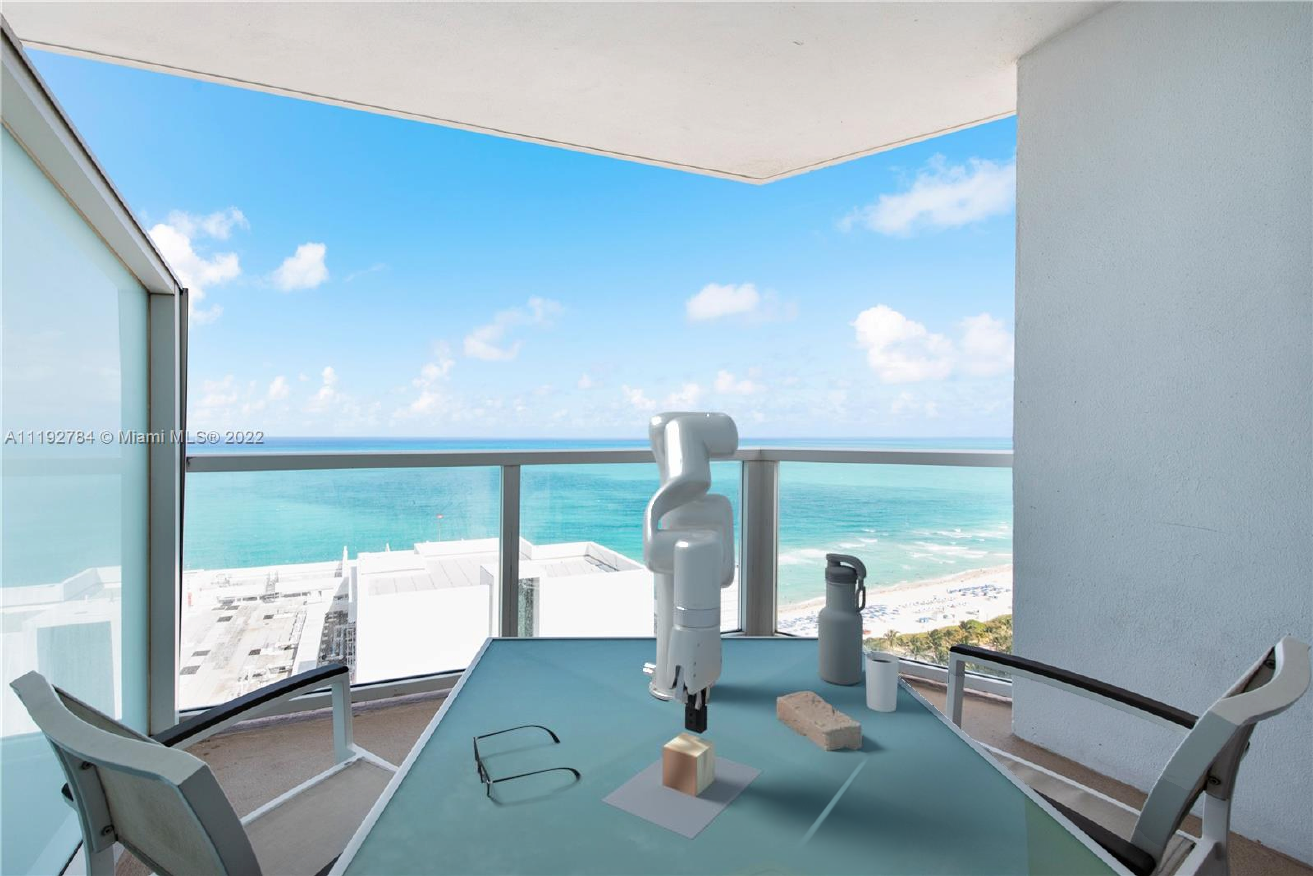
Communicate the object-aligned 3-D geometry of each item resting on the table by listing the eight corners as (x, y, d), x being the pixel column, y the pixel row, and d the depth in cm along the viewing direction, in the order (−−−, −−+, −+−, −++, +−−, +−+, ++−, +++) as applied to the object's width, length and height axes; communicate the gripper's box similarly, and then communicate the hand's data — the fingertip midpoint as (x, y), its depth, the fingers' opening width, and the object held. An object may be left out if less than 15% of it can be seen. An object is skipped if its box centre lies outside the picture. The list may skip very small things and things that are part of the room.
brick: (864, 748, 117) (865, 722, 117) (826, 756, 114) (826, 730, 114) (809, 712, 132) (809, 689, 132) (774, 719, 129) (774, 695, 129)
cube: (682, 768, 107) (662, 784, 102) (683, 732, 107) (662, 746, 102) (714, 780, 104) (695, 797, 99) (715, 742, 104) (695, 757, 99)
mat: (600, 804, 98) (600, 800, 98) (680, 747, 116) (680, 743, 116) (692, 843, 89) (692, 839, 89) (762, 774, 107) (762, 771, 107)
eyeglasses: (468, 757, 113) (469, 733, 113) (558, 740, 119) (558, 718, 119) (485, 807, 98) (485, 780, 98) (586, 784, 104) (586, 759, 104)
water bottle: (868, 676, 151) (870, 554, 151) (857, 690, 143) (858, 561, 142) (825, 667, 156) (826, 550, 156) (811, 680, 148) (813, 556, 148)
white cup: (894, 715, 130) (895, 665, 130) (860, 708, 133) (861, 659, 133) (901, 704, 135) (902, 656, 135) (869, 697, 139) (869, 650, 139)
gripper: (701, 602, 113) (699, 708, 113) (650, 622, 101) (649, 741, 101) (739, 609, 109) (738, 719, 109) (692, 631, 96) (691, 755, 96)
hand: (695, 729), depth 105 cm, fingers closed
